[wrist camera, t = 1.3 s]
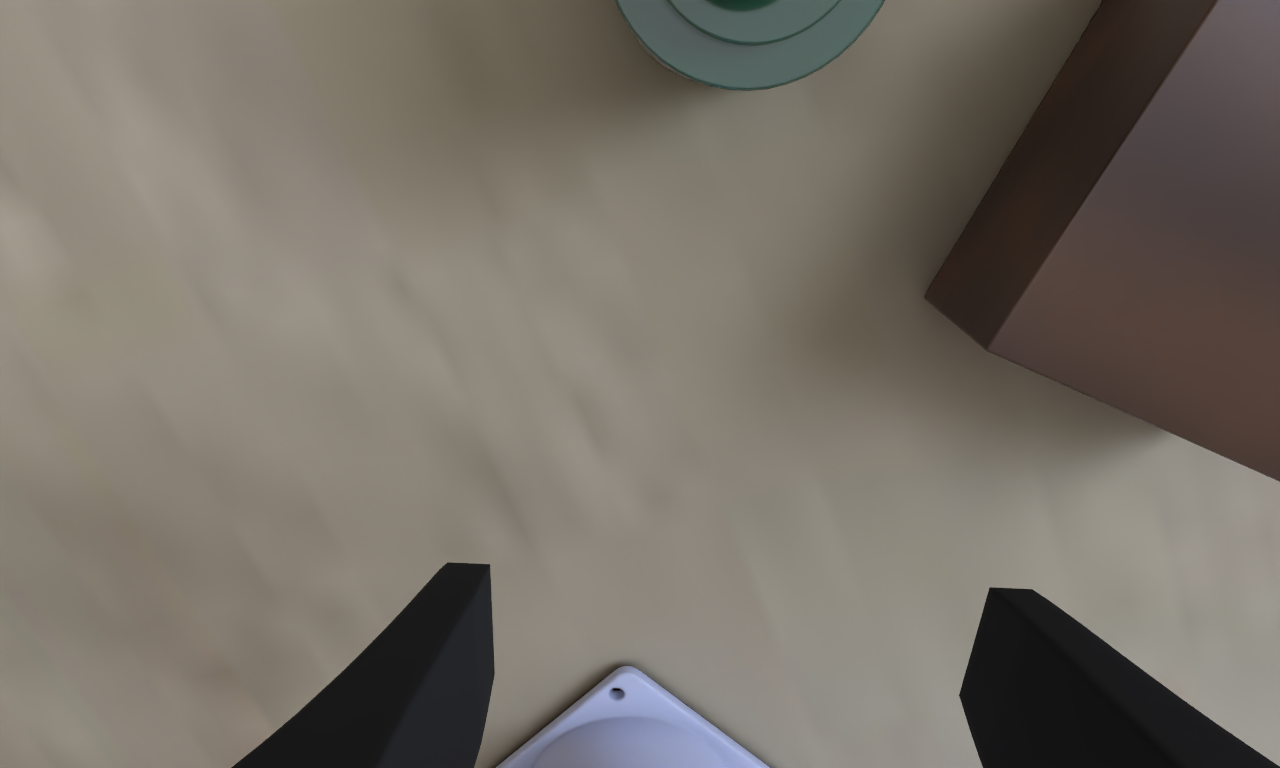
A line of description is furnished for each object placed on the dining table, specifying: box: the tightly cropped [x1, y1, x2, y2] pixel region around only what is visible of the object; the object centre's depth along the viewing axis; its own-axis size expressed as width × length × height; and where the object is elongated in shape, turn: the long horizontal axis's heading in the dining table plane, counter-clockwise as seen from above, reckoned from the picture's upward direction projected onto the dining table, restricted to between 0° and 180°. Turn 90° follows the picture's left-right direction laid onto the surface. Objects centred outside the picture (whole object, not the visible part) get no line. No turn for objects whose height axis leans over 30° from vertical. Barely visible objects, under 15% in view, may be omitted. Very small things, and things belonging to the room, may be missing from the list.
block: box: [924, 0, 1280, 481], centre depth 17 cm, size 9×9×4 cm
